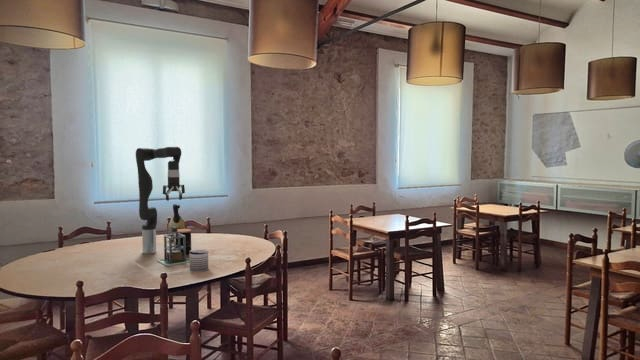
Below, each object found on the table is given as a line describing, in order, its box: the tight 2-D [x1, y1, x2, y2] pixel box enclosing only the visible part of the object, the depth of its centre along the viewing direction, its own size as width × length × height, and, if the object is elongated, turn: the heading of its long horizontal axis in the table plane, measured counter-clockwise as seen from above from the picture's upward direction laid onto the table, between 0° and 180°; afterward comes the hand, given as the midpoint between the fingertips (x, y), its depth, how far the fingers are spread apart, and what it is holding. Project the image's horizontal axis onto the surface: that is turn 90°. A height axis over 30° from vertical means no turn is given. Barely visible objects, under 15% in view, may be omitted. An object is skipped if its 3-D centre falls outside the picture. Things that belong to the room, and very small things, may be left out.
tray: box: [156, 256, 190, 267], centre depth 285 cm, size 16×18×2 cm
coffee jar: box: [176, 228, 192, 257], centre depth 304 cm, size 11×11×18 cm
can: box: [189, 249, 209, 273], centre depth 270 cm, size 11×11×12 cm
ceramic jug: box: [167, 203, 188, 242], centre depth 355 cm, size 17×15×30 cm
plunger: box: [172, 227, 180, 253], centre depth 284 cm, size 7×7×16 cm
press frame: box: [163, 233, 187, 264], centre depth 284 cm, size 11×11×17 cm
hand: (174, 200), depth 293 cm, fingers open, 8 cm apart
